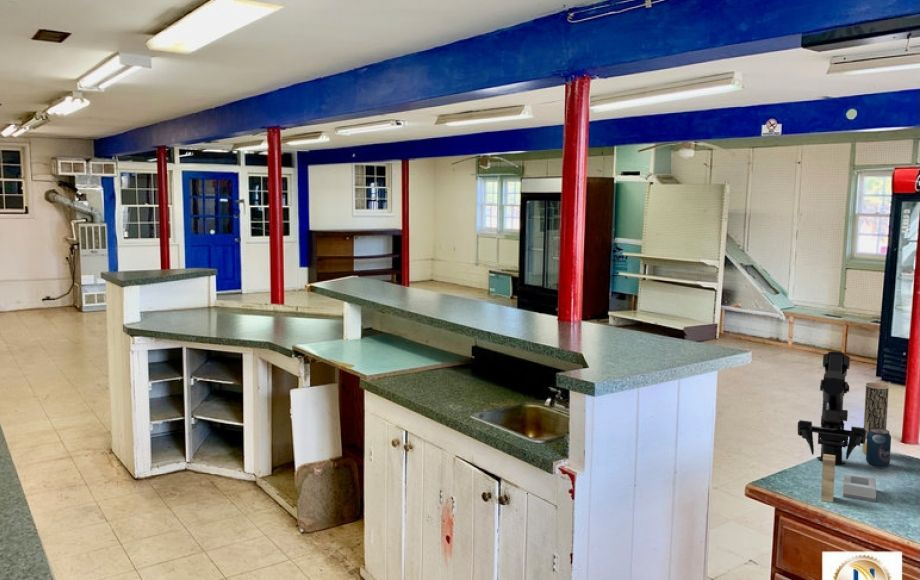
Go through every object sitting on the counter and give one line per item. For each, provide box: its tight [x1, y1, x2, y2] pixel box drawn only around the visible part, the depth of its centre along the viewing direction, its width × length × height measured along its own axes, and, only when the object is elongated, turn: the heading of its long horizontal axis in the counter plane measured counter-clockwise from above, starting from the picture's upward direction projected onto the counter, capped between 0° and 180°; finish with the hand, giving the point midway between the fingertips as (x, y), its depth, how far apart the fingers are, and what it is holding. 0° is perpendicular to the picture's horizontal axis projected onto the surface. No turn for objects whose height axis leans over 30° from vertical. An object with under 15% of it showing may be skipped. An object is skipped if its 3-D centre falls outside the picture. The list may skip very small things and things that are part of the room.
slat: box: [820, 454, 836, 503], centre depth 209 cm, size 4×3×13 cm
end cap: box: [842, 472, 877, 503], centre depth 213 cm, size 10×8×4 cm
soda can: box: [865, 428, 892, 469], centre depth 235 cm, size 7×7×12 cm
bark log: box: [862, 382, 889, 455], centre depth 244 cm, size 7×7×25 cm
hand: (829, 456), depth 213 cm, fingers open, 9 cm apart
